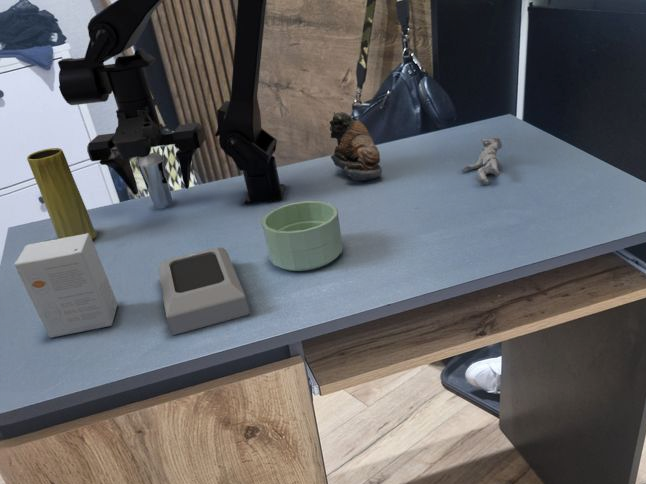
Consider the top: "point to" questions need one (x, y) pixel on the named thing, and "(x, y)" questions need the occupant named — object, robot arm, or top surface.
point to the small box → (67, 285)
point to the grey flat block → (201, 290)
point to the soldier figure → (487, 160)
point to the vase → (60, 193)
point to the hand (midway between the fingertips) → (161, 191)
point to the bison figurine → (354, 148)
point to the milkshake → (156, 179)
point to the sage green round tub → (302, 235)
